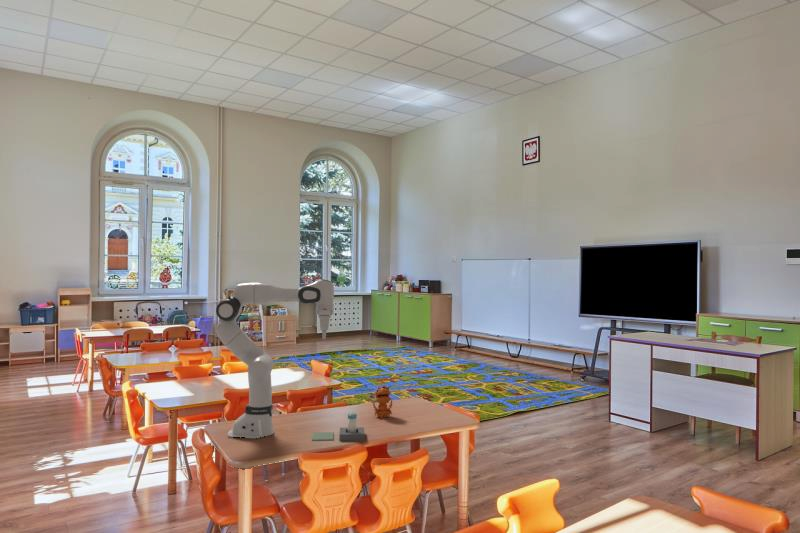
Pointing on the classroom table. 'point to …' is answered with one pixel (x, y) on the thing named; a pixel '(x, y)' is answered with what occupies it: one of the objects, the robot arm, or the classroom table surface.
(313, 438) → the service mat
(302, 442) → the classroom table surface
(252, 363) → the robot arm
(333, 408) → the classroom table surface
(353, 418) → the filter cartridge
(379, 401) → the brown plush toy
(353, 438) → the grey square base
